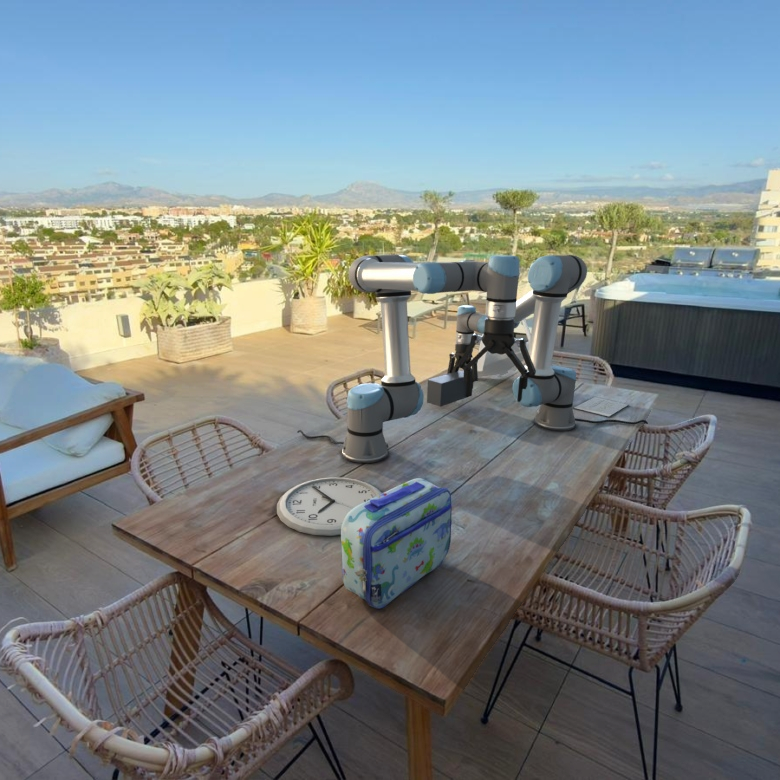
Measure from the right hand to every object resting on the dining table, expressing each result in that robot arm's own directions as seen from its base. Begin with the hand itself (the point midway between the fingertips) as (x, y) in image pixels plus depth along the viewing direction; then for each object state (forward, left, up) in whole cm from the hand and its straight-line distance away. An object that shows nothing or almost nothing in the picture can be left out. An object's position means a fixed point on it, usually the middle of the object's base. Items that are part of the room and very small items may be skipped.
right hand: (461, 393), depth 228 cm
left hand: (-6, +84, +26) cm, 88 cm away
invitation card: (-61, -4, -4) cm, 61 cm away
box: (+5, +6, -1) cm, 8 cm away
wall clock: (+36, +95, -4) cm, 102 cm away
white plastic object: (-22, -32, -4) cm, 39 cm away
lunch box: (+15, +124, -4) cm, 125 cm away
